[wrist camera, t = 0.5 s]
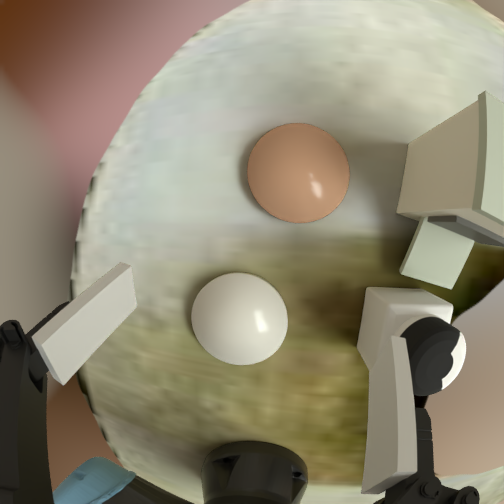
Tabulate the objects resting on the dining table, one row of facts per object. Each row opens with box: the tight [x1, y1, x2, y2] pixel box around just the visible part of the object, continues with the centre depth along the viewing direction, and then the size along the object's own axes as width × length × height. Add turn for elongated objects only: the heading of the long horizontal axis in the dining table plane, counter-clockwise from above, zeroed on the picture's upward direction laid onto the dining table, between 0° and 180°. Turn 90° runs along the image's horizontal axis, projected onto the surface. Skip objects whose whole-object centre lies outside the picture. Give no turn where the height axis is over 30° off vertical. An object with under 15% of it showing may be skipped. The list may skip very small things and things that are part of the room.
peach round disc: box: [247, 123, 350, 223], centre depth 27 cm, size 10×10×1 cm
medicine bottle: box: [357, 287, 466, 396], centre depth 22 cm, size 7×7×12 cm
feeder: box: [396, 91, 504, 289], centre depth 19 cm, size 14×10×15 cm
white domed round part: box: [191, 272, 288, 365], centre depth 29 cm, size 10×10×1 cm
